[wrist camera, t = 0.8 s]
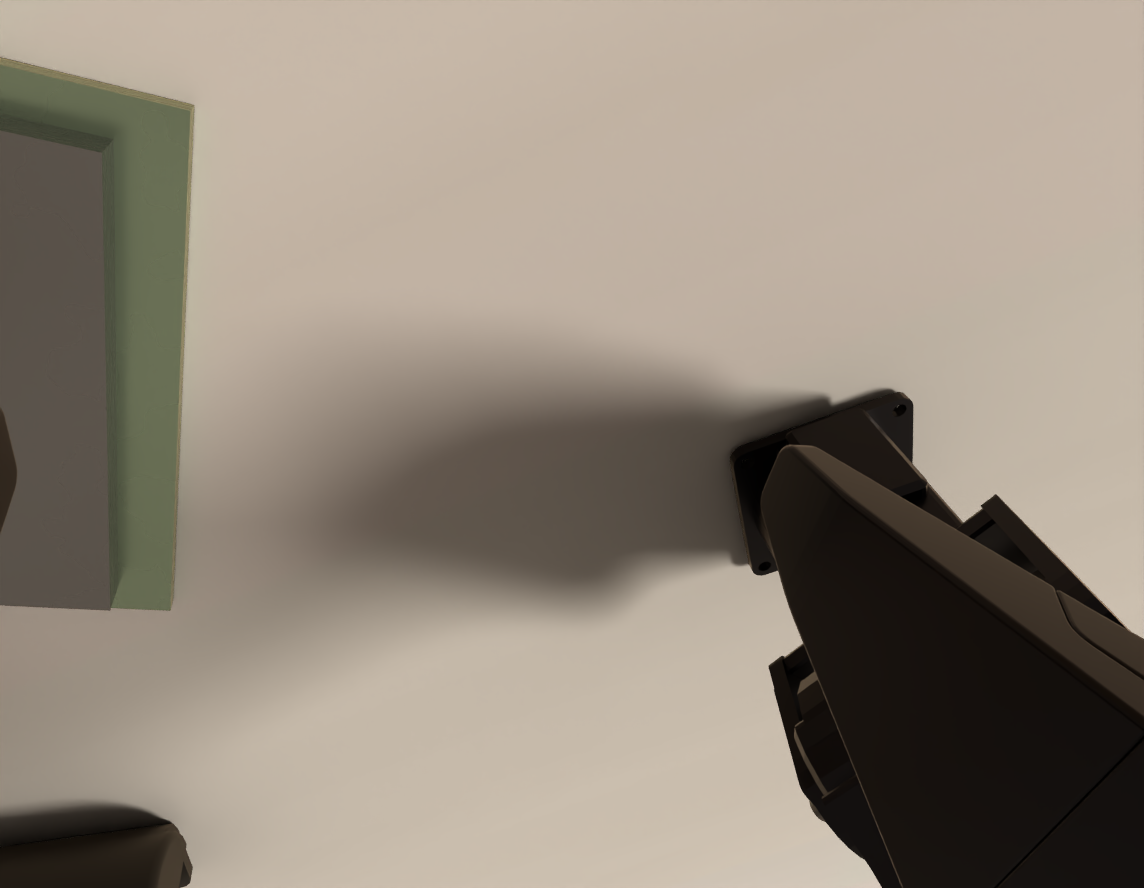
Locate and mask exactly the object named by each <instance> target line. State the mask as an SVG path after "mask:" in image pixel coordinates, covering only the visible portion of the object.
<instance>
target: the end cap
mask: <svg viewBox="0 0 1144 888" xmlns="http://www.w3.org/2000/svg"><path fill="white" fill-rule="evenodd" d="M192 869H193V867H192V864H191V862H190V859H189V856H188V854H187V851H186V842H185V840H184V838H183V836H182V835H181V834H180V833H179V830H178V828H177V827H176V826H175V825H174V824H172V823H171V824H164V825H157V826H149V827H142V828H135V829H128V830H121V831H113V832H106V833H99V834H92V835H85V836H77V837H70V838H63V839H56V840H49V841H41V842H34V843H27V844H20V845H13V846H5V847H0V888H181V887H184V886H187V885H188V884H189V883H190V880H191V875H192Z"/></svg>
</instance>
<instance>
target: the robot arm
mask: <svg viewBox="0 0 1144 888" xmlns="http://www.w3.org/2000/svg"><path fill="white" fill-rule="evenodd" d="M898 405H899V406H898ZM896 406H898V407H897V408H896V409H894V408H895V407H896ZM746 458H749V459H748V460H747V461H745V462H742V461H743V460H744V459H746ZM912 459H913V403H912V401H911V400H910V399H909V398H908V397H907V396H906V395H905V394H904V393H901V392H896V393H892V394H889V395H886V396H883V397H880V398H877V399H875V400H872V401H869V402H866V403H863V404H860V405H857V406H855V407H852V408H849V409H846V410H843V411H840V412H837V413H834V414H832V415H829V416H826V417H823V418H820V419H817V420H814V421H812V422H809V423H806V424H803V425H800V426H797V427H794V428H791V429H789V430H786V431H783V432H780V433H777V434H774V435H771V436H769V437H766V438H763V439H760V440H757V441H754V442H751V443H749V444H746V445H743V446H740V447H738V448H737V449H735V450H734V451H733V452H732V454H731V456H730V466H731V472H732V477H733V483H734V488H735V493H736V499H737V504H738V509H739V515H740V520H741V526H742V531H743V536H744V542H745V547H746V552H747V558H748V563H749V565H750V567H751V569H752V571H753V573H754V574H756V575H766V574H769V573H772V572H775V571H778V572H779V575H780V579H781V582H782V586H783V589H784V593H785V596H786V599H787V602H788V605H789V608H790V611H791V613H792V616H793V619H794V621H795V624H796V626H797V629H798V631H799V634H800V636H801V639H802V641H803V644H802V645H800V646H799V647H798V648H796V649H795V650H794V651H792V652H791V653H790V654H788V655H787V656H786V657H784V656H781V657H780V658H778V659H777V660H776V661H774V662H773V663H772V664H770V665H769V670H770V674H771V678H772V681H773V685H774V692H775V696H776V700H777V703H778V707H779V711H780V714H781V718H782V722H783V725H784V729H785V733H786V737H787V740H788V744H789V748H790V751H791V755H792V759H793V762H794V766H795V770H796V774H797V777H798V781H799V785H800V787H801V789H802V791H803V793H804V794H805V795H806V797H807V798H808V799H809V802H810V806H811V808H812V810H813V812H814V813H815V815H816V816H817V817H818V818H819V819H820V820H822V821H824V822H826V823H827V824H828V825H829V827H830V828H831V829H832V830H833V832H834V833H835V834H836V835H837V836H838V837H839V838H840V839H841V840H842V842H843V843H844V844H845V845H846V846H847V847H848V848H849V849H851V850H852V851H853V852H854V853H856V854H857V855H858V856H859V857H861V858H863V859H865V861H866V862H867V864H868V865H869V867H870V868H871V870H872V871H873V873H874V875H875V876H876V878H877V880H878V882H879V883H880V885H881V887H882V888H1144V639H1143V638H1141V637H1140V636H1138V635H1136V634H1134V633H1132V632H1131V631H1130V630H1129V629H1128V628H1127V627H1126V626H1125V625H1124V624H1123V623H1122V622H1121V621H1120V620H1119V619H1118V618H1117V617H1116V616H1115V615H1114V614H1113V613H1112V611H1111V610H1110V609H1109V608H1108V607H1107V606H1106V605H1105V604H1104V603H1103V602H1102V601H1101V600H1100V599H1099V598H1098V597H1097V596H1096V595H1095V594H1094V593H1093V592H1092V591H1091V590H1090V589H1089V588H1088V587H1087V586H1086V585H1085V584H1084V583H1083V582H1082V581H1081V580H1080V579H1079V578H1078V577H1077V576H1076V575H1075V574H1074V573H1073V572H1072V571H1071V570H1070V569H1069V568H1068V566H1067V565H1066V564H1065V563H1064V562H1063V561H1062V560H1061V559H1060V558H1059V557H1058V556H1057V555H1056V554H1055V553H1054V552H1053V551H1052V550H1051V549H1050V548H1049V547H1048V546H1047V545H1046V544H1045V543H1044V542H1043V541H1042V540H1041V539H1040V538H1039V537H1038V536H1037V535H1036V534H1035V533H1034V532H1033V531H1032V530H1031V529H1030V528H1029V527H1028V526H1027V525H1026V524H1025V523H1024V522H1023V521H1022V520H1021V519H1020V518H1019V517H1018V516H1017V515H1016V514H1015V513H1014V512H1013V511H1012V510H1011V509H1010V508H1009V507H1008V506H1007V505H1006V504H1005V503H1004V502H1003V501H1002V500H1001V499H1000V498H999V497H998V496H997V495H994V496H993V497H992V498H990V499H989V500H988V501H986V502H985V503H984V504H982V505H981V507H982V509H981V510H980V511H978V512H977V513H976V514H974V515H973V516H972V517H970V518H969V519H968V520H966V521H965V522H964V523H963V522H962V521H961V519H960V518H959V517H958V516H957V515H956V514H955V513H954V512H953V510H952V509H951V508H950V507H949V506H948V505H947V504H946V503H945V501H944V500H943V499H942V498H941V497H940V496H939V495H938V493H937V492H936V491H935V490H934V489H933V488H932V487H931V486H930V484H929V483H928V482H927V480H926V479H925V477H924V476H923V475H922V474H921V473H920V472H919V471H918V470H917V468H916V467H915V466H914V465H913V464H912ZM16 483H17V465H16V460H15V456H14V452H13V448H12V444H11V439H10V435H9V431H8V427H7V423H6V419H5V415H4V412H3V410H2V409H1V407H0V534H1V531H2V528H3V525H4V522H5V519H6V516H7V513H8V510H9V507H10V504H11V501H12V498H13V494H14V491H15V488H16Z"/></svg>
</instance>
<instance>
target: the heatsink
mask: <svg viewBox="0 0 1144 888" xmlns="http://www.w3.org/2000/svg"><path fill="white" fill-rule="evenodd" d="M193 126H194V105H192V104H188V103H184V102H180V101H176V100H171V99H167V98H163V97H159V96H155V95H151V94H147V93H143V92H139V91H135V90H131V89H127V88H123V87H119V86H115V85H111V84H106V83H102V82H98V81H94V80H90V79H86V78H82V77H78V76H74V75H70V74H66V73H62V72H58V71H54V70H50V69H46V68H41V67H37V66H33V65H29V64H25V63H21V62H17V61H13V60H9V59H5V58H1V57H0V407H1V409H2V410H3V412H4V415H5V419H6V423H7V427H8V431H9V435H10V439H11V444H12V448H13V452H14V456H15V460H16V465H17V483H16V488H15V491H14V494H13V498H12V501H11V504H10V507H9V510H8V513H7V516H6V519H5V522H4V525H3V528H2V531H1V534H0V605H5V606H27V607H48V608H69V609H91V610H110V609H111V608H125V609H145V610H166V611H170V610H171V606H172V602H173V594H174V570H175V547H176V523H177V500H178V477H179V453H180V430H181V407H182V383H183V360H184V337H185V313H186V290H187V266H188V243H189V220H190V196H191V173H192V150H193Z"/></svg>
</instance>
